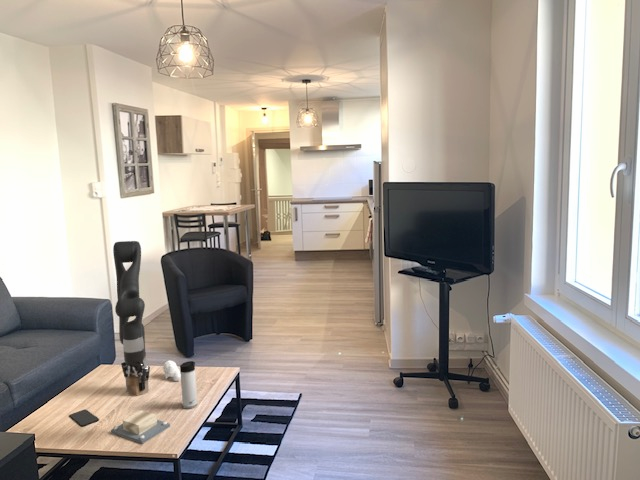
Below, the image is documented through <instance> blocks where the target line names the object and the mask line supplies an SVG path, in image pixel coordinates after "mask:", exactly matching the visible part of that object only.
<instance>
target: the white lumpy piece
mask: <svg viewBox="0 0 640 480" xmlns="http://www.w3.org/2000/svg"><path fill="white" fill-rule="evenodd" d="M162 369H163V373H164V374H165V380H168V379H169V377H171V378H173V381H175V382H181V374H180V368H178V365H177V363H176V362H175V361H174V360H166V362H164V363H163V366H162Z"/></svg>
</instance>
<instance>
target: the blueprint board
mask: <svg viewBox="0 0 640 480" xmlns="http://www.w3.org/2000/svg"><path fill="white" fill-rule="evenodd" d="M170 427H171V423H168V422H167V421H162V420H160V419H159V420H158V419H157V425H155V426H153V427H152V428H150V429H148V430H147V431H145V432H143V433H142V434H140V435H138V434H135V433H132V432H129V431H126V430H124V429H123V422H122V423H120V424H119V425H117V426H114V427H113V428H112V429H110V433H111V434H113V435H116V436H119V437H122V438H125V439H127V440H131V441H133V442H136V443H140V444H142V445H143V444H144V443H146V442H147V441H149V440H151V439H153V438H154V437H156V436H158V435H159V434H160V433H162V432H164V431H166V429H168V428H170Z"/></svg>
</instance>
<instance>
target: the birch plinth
mask: <svg viewBox="0 0 640 480" xmlns="http://www.w3.org/2000/svg"><path fill="white" fill-rule="evenodd" d="M157 420H158V419H157V414H155V413H151V412H148V411H145V410H142V409H140V410H139V411H136V412H135V413H134V414H132V415H130V416H127V417H126V418H124V419H122V423H123V429H124V430H126V431H129V432H132V433H135V434H138V435H140V434H142V433H143V432H145V431H147V430H148V429H150V428H152V427H153V426H155V425H157Z"/></svg>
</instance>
